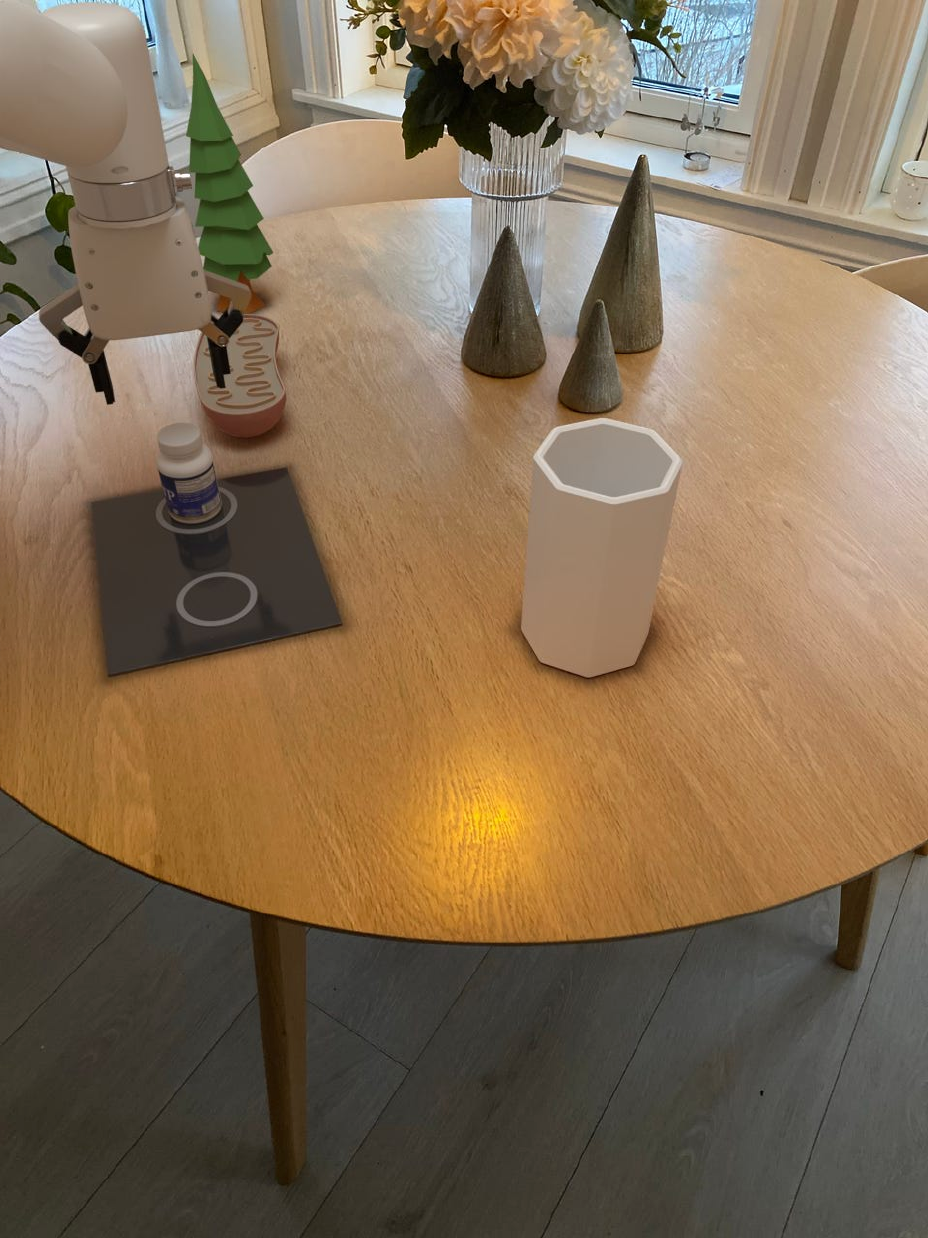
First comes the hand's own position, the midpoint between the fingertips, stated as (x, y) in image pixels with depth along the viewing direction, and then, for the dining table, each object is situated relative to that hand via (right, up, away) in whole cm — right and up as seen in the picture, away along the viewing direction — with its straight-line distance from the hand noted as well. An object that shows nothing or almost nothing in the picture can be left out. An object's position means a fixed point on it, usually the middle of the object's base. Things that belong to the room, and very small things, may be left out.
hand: (165, 389), depth 86 cm
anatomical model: (+1, +5, +26) cm, 26 cm away
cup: (+37, -22, -2) cm, 43 cm away
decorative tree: (-3, +22, +43) cm, 48 cm away
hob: (+3, -15, +5) cm, 16 cm away
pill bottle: (0, -10, +10) cm, 14 cm away
